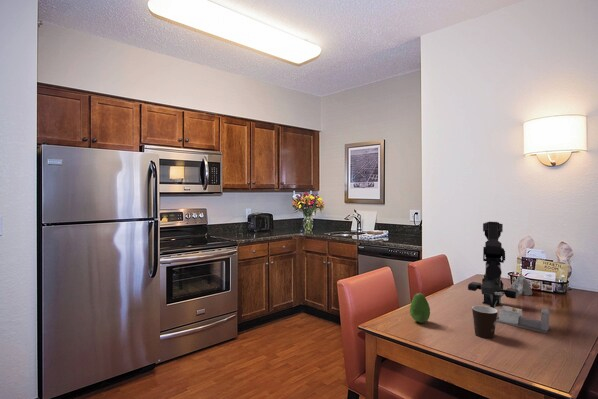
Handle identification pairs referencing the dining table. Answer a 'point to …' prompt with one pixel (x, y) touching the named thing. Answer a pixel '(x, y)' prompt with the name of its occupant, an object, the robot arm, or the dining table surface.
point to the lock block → (510, 315)
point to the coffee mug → (484, 321)
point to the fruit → (420, 308)
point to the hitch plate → (533, 322)
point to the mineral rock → (522, 286)
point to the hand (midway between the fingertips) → (492, 309)
